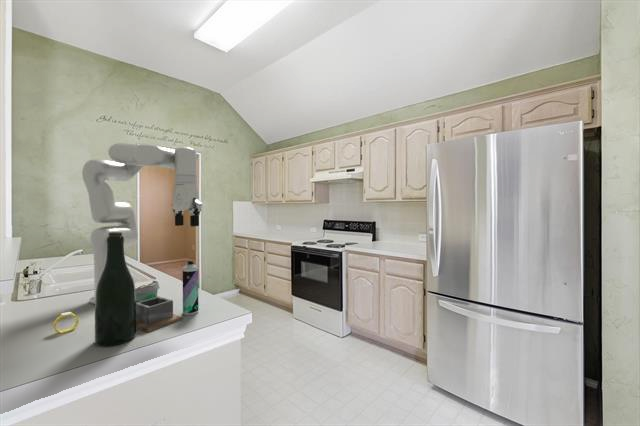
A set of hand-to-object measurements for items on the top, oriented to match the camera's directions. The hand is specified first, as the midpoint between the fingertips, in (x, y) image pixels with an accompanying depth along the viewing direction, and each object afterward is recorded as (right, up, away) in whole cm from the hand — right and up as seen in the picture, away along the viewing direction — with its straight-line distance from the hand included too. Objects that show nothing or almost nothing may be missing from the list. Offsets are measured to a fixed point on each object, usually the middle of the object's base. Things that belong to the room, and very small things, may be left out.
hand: (186, 225), depth 108 cm
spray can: (+1, -34, +1) cm, 34 cm away
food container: (-16, -33, +3) cm, 37 cm away
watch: (-32, -34, -16) cm, 49 cm away
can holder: (-8, -34, -8) cm, 35 cm away
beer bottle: (-12, -34, -21) cm, 42 cm away
